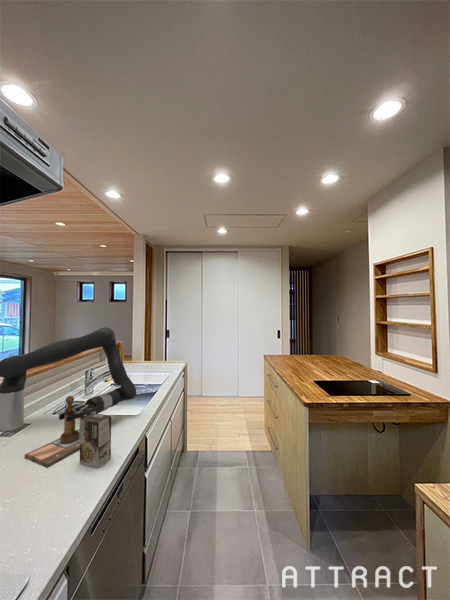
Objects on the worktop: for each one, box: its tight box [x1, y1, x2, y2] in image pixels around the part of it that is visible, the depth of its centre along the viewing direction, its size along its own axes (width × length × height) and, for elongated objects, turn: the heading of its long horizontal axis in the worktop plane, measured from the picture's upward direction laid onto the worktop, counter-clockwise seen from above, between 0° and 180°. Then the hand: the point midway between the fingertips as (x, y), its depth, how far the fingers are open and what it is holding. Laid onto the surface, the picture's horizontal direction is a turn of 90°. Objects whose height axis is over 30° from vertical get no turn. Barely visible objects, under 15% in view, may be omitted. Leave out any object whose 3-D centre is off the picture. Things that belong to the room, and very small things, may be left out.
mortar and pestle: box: [59, 395, 79, 444], centre depth 110 cm, size 7×6×18 cm
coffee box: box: [79, 413, 112, 469], centre depth 98 cm, size 9×6×16 cm
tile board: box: [24, 428, 80, 468], centre depth 109 cm, size 14×27×2 cm, turn 155°
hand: (63, 418), depth 107 cm, fingers closed on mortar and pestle, 4 cm apart
